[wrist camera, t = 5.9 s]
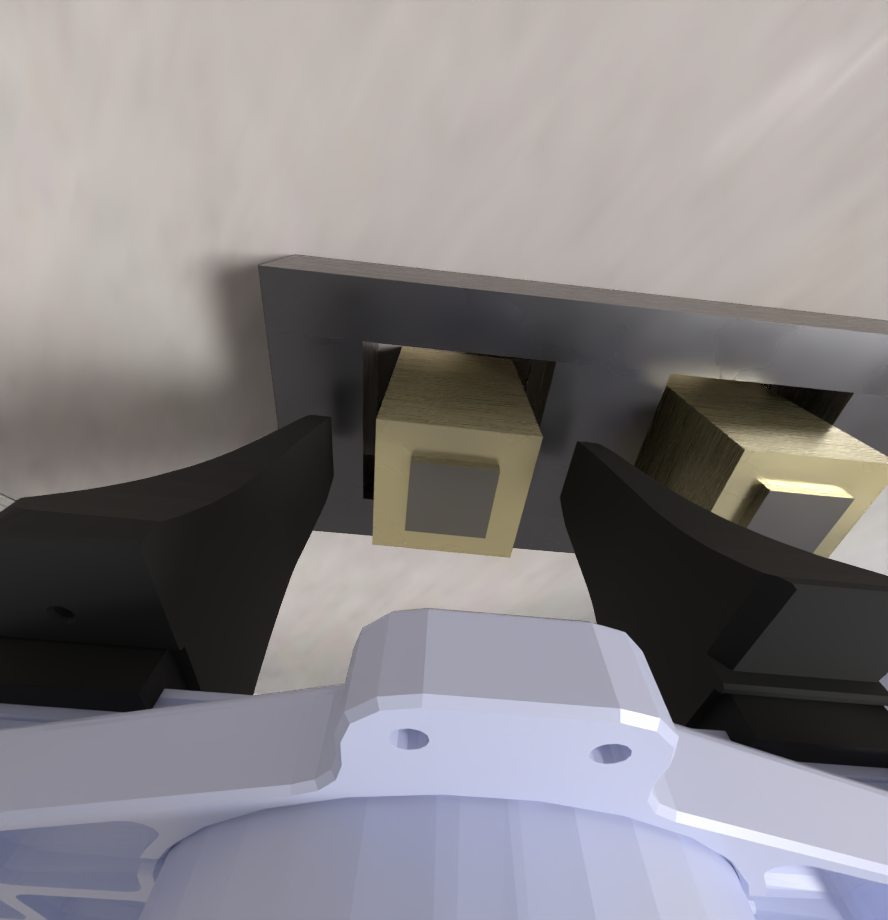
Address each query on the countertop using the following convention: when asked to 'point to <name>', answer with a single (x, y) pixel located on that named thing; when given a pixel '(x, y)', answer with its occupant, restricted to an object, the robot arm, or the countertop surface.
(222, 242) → the countertop surface
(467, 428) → the block
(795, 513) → the seated nut
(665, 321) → the rail
